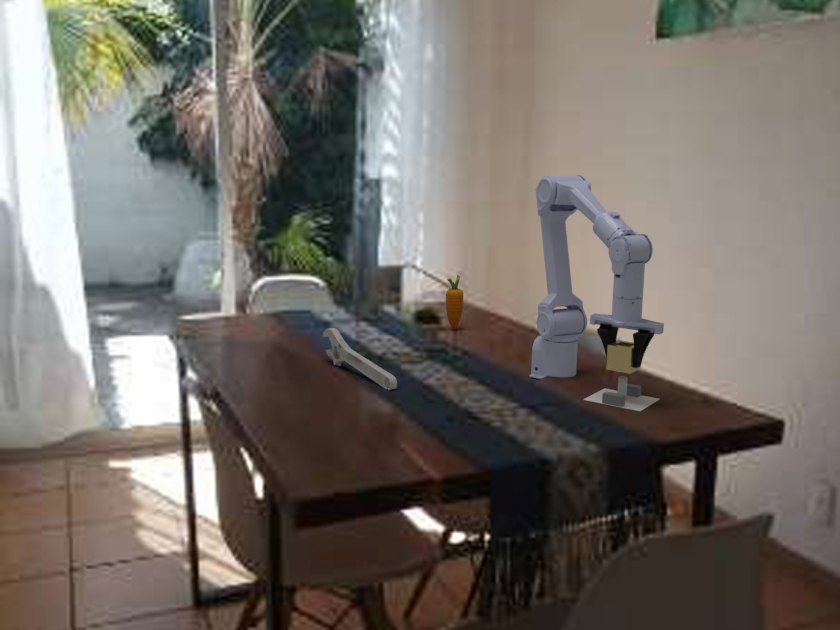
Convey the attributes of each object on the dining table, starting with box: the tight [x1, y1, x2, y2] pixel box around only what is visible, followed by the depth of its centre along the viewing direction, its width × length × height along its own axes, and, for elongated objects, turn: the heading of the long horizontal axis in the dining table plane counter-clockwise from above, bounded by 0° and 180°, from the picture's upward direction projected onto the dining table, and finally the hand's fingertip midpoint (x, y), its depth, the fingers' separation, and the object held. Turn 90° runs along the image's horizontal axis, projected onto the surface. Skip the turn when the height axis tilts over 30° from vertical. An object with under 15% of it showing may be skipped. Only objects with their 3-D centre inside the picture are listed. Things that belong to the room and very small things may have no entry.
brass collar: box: [605, 339, 642, 375], centre depth 177 cm, size 5×5×5 cm
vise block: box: [583, 375, 661, 412], centre depth 178 cm, size 12×10×6 cm
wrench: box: [322, 327, 398, 391], centre depth 198 cm, size 8×2×30 cm
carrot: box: [445, 274, 464, 331], centre depth 242 cm, size 5×5×15 cm
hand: (623, 364), depth 177 cm, fingers closed on brass collar, 5 cm apart
